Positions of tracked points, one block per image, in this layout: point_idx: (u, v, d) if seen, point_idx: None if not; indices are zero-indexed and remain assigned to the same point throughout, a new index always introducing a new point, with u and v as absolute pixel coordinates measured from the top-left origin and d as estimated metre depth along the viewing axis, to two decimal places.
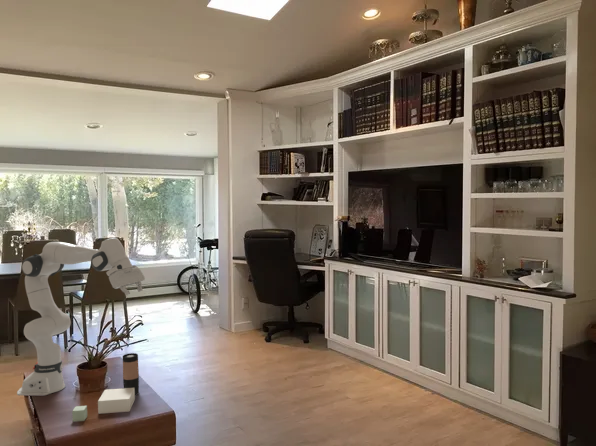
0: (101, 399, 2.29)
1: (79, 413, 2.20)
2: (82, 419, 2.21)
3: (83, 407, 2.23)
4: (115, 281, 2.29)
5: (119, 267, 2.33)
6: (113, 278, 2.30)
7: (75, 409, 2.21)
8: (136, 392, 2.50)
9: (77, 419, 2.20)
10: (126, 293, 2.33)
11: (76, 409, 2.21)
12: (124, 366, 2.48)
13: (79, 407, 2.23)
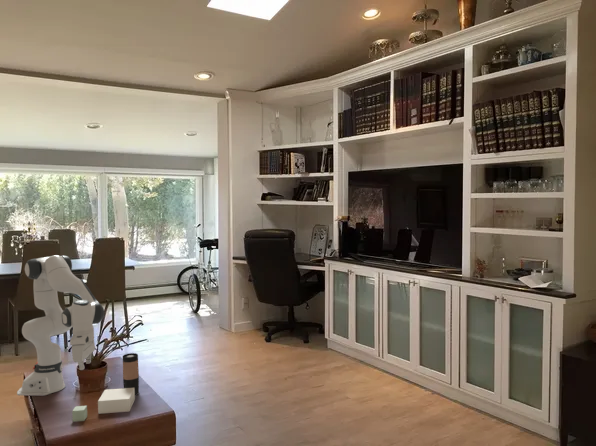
0: (101, 399, 2.29)
1: (79, 413, 2.20)
2: (82, 419, 2.21)
3: (83, 407, 2.23)
4: (80, 356, 2.13)
5: (86, 340, 2.17)
6: (78, 352, 2.13)
7: (75, 409, 2.21)
8: (136, 392, 2.50)
9: (77, 419, 2.20)
10: (81, 368, 2.17)
11: (76, 409, 2.21)
12: (124, 366, 2.48)
13: (79, 407, 2.23)
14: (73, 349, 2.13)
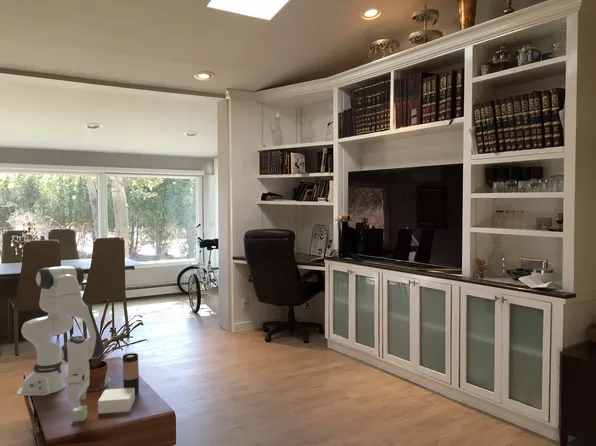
0: (101, 399, 2.29)
1: (79, 413, 2.20)
2: (82, 419, 2.21)
3: (83, 407, 2.23)
4: (76, 394, 2.12)
5: (83, 378, 2.17)
6: (74, 391, 2.13)
7: (75, 409, 2.21)
8: (136, 392, 2.50)
9: (77, 419, 2.20)
10: (77, 406, 2.17)
11: (76, 409, 2.21)
12: (124, 366, 2.48)
13: (79, 407, 2.23)
14: (69, 388, 2.12)
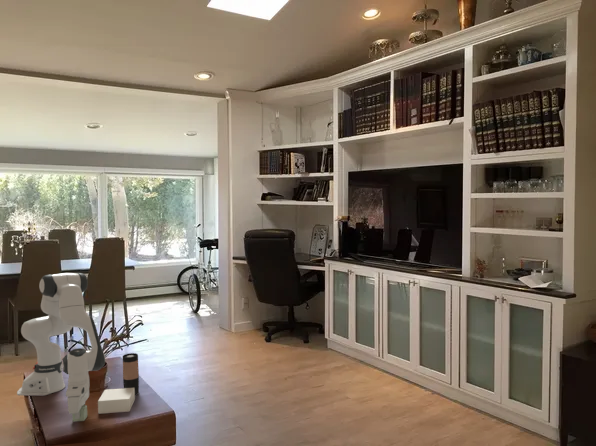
0: (101, 399, 2.29)
1: None
2: (82, 419, 2.21)
3: (83, 407, 2.23)
4: (75, 408, 2.13)
5: (82, 391, 2.17)
6: (74, 404, 2.13)
7: None
8: (136, 392, 2.50)
9: (77, 419, 2.20)
10: (77, 417, 2.19)
11: None
12: (124, 366, 2.48)
13: None
14: (69, 401, 2.13)
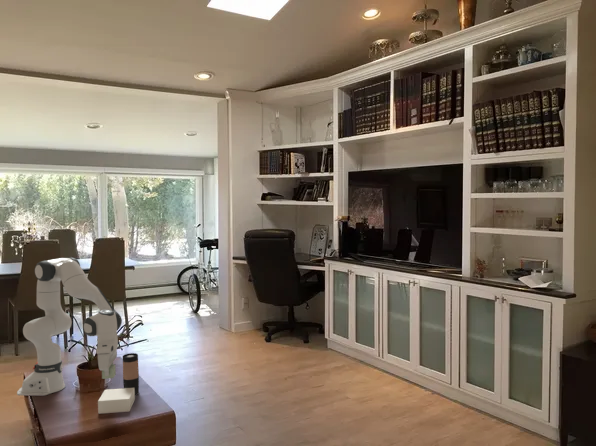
0: (101, 399, 2.29)
1: None
2: (111, 376, 2.30)
3: (112, 365, 2.33)
4: (105, 364, 2.22)
5: (112, 349, 2.26)
6: (104, 360, 2.22)
7: None
8: (136, 392, 2.50)
9: (106, 376, 2.30)
10: (106, 374, 2.28)
11: None
12: (124, 366, 2.48)
13: None
14: (99, 358, 2.22)
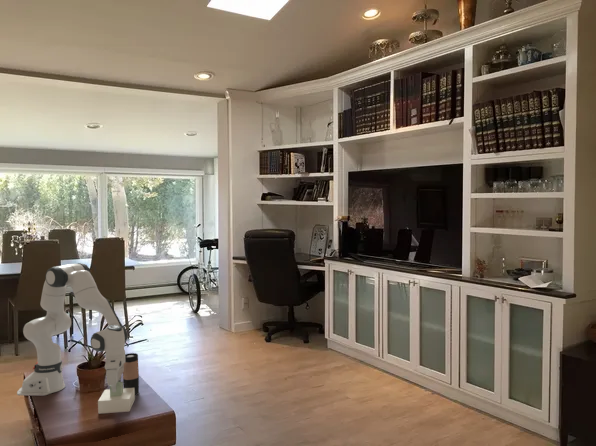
0: (101, 399, 2.29)
1: None
2: (119, 394, 2.33)
3: (119, 383, 2.36)
4: (114, 379, 2.26)
5: (120, 364, 2.29)
6: (113, 376, 2.26)
7: None
8: (136, 392, 2.50)
9: (114, 394, 2.33)
10: (114, 390, 2.30)
11: None
12: (124, 366, 2.48)
13: None
14: (108, 373, 2.25)
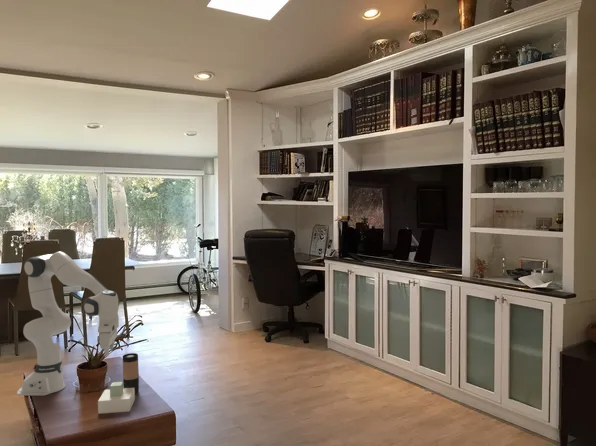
0: (101, 399, 2.29)
1: (116, 388, 2.33)
2: (119, 394, 2.33)
3: (119, 383, 2.36)
4: (106, 343, 2.29)
5: (113, 328, 2.32)
6: (105, 339, 2.29)
7: (112, 384, 2.34)
8: (136, 392, 2.50)
9: (114, 394, 2.33)
10: (106, 354, 2.33)
11: (113, 384, 2.34)
12: (124, 366, 2.48)
13: (116, 383, 2.36)
14: (100, 336, 2.29)
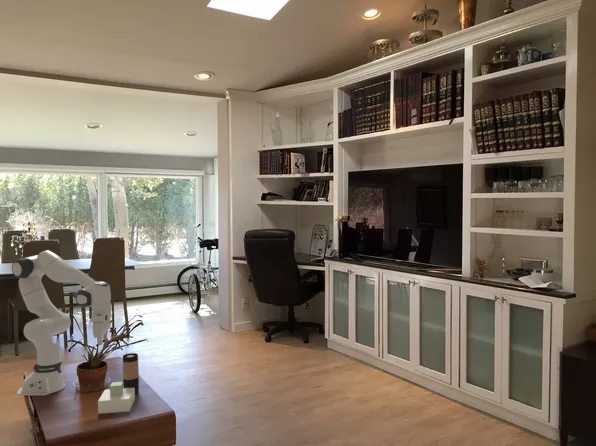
0: (101, 399, 2.29)
1: (116, 388, 2.33)
2: (119, 394, 2.33)
3: (119, 383, 2.36)
4: (100, 332, 2.33)
5: (106, 318, 2.37)
6: (98, 328, 2.33)
7: (112, 384, 2.34)
8: (136, 392, 2.50)
9: (114, 394, 2.33)
10: (100, 343, 2.38)
11: (113, 384, 2.34)
12: (124, 366, 2.48)
13: (116, 383, 2.36)
14: (94, 326, 2.33)
